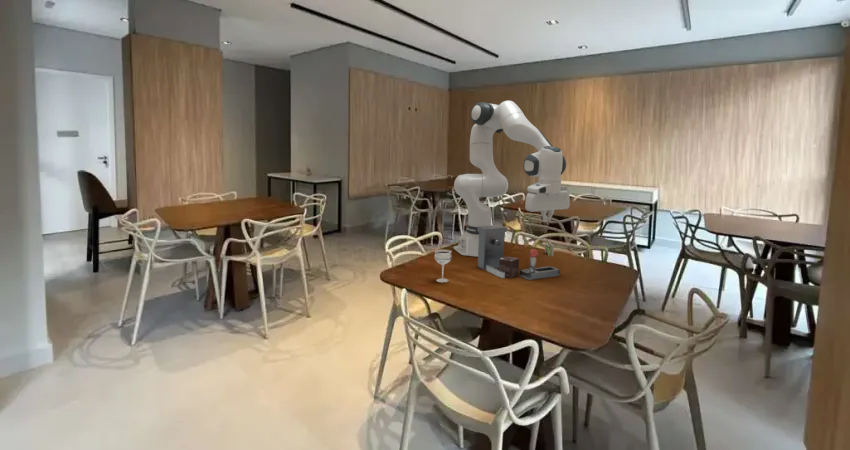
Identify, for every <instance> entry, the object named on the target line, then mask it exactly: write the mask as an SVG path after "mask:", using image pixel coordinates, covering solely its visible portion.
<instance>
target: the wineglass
mask: <svg viewBox="0 0 850 450" xmlns="http://www.w3.org/2000/svg"><path fill="white" fill-rule="evenodd" d="M452 258H453V257H452V250H450V249H444V248H443V249H441V248H440V249H436V250H434V260H435V261H436V262H437V264H440V265H441V278H438V279H436V280H435V281H436V282H438V283H448V282H449V279H447V278H444V268H445V266H446V265H447V264H448V263H450V262H451V260H452Z"/></svg>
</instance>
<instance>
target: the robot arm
mask: <svg viewBox="0 0 850 450" xmlns="http://www.w3.org/2000/svg"><path fill="white" fill-rule="evenodd" d="M470 119H471V121H472V123H474V124H473V125H472V127H471V130H470V137H469V162H470V163H471V164H472V165H473V166H474V167H475V168H478V169H480V170H481V172H482V173H464V174H459V175H458V176H457V177H456V178H455V179H454V182H453V183H454V184H453V189H454V191H455V193H456V194H457V195H458V196H459V197H460V198H461V199H462V200H463V201H464V203H465V205H466V207H467V214H468V215H467V216H468V217H467V219H468V224H465V228H466V229H465V232H464V233H463V234H461V236H459V237H458V240H457V243H458V244H457V245H455V246H452V247H453V250H455V251H456V252H457V253H458V254H460V255H462V256H468V257H469V256H470V257H477V258H478V246H479V232H478V231H477V230H478V227H481V226H492V209H491V208H490V206H488V205H486V204H485V203H483V202H481V201H480V198H495V197H496V198H497V197H503V196H504V195H506V193H507V192H508V189H509V181H508V179H507V177H506V176H505V175H503V174H502V173H501V172H500V171H499V170H498V168H497V166H496V164H495V161H494V147H493V145H494V141H493V140H494V139H493V137H494V134H495V133H497V134H501V133H502V132H504V134H505V135H506V137H508V138H509V139H510V140H512V141H515V142H521V143H525V144H528V145H531V146H532V147H534V148H535V149H536V150H537V152H533V153H530V154H529V153H528V155H527V156H525V157H524V160H523V171H524V173H525V174H526V175H527V176H528V177H532V178H534V177H538V181H537V182H535V183H533V184H530V185H529V186H527V194H526V197H525V206H524V207H525V210H526V211H527V212H531V213H532V212H540V213H541V216H542V221H543V222H551V221H552V217H553V215H554V213H555V211H557V210H568V209H569V208H570V206H571V202H570V201H571V198H570V196H571V195H570V188H569V187H567V186H562V175H563V173H564V172H565V171H566V168H567V161H566V158H565V156H564V155H563V151H562V149H561V148H559V147H557V146H554V145H552V143H551V142H550V141H549V139H548V138H547V137H546V136H545V135H544V134H543V132H542V131H541V130H540V129H538V128H537V127H536V126H534V124H532V122H530V121H529V119H527V117H526V115H525V113H524V112H523V111H522V109H521V108H520V106H518V105H517V104H516V102H514V101H512V100H504V101H502V102H501V103H499V104H496V103H489V102H485V101H481V102H477V103H475V104H474V105H473V107H472V108H471V110H470Z"/></svg>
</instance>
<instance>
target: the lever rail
mask: <svg viewBox="0 0 850 450" xmlns="http://www.w3.org/2000/svg"><path fill="white" fill-rule="evenodd" d="M528 270H529V268H525V269H520V270H519V277H521V278H524V279H525V280H527V281H532V280H538V279H547V278H554V277H559V276H560V275H561V269H559V268H556V267H554V266H551V265H550V266H542V267H540V266H539V267H536V268H535V270H536V271H538V272H532V273H529V272H526V271H528Z"/></svg>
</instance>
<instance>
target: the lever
mask: <svg viewBox="0 0 850 450" xmlns="http://www.w3.org/2000/svg"><path fill="white" fill-rule="evenodd" d="M528 255H529V268H528V269H529V270H528V271H526V272H529V273H532V272H538V271H536V270H535V268H537V267H536V266H537V265H536V264H537V257H538V255H539V252H538V250H537V249H534V248H533V249H530V250H529V251H528Z"/></svg>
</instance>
